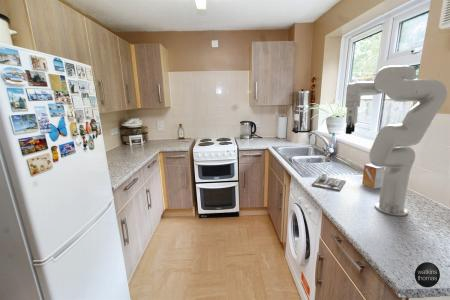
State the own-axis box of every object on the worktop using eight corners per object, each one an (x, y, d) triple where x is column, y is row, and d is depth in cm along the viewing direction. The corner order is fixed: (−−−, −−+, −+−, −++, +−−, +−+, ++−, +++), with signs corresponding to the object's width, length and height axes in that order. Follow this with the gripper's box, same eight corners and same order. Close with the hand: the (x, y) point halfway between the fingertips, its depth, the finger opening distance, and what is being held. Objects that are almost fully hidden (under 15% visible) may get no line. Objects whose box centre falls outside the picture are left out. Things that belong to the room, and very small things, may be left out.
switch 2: (335, 186, 130) (336, 179, 129) (329, 185, 132) (330, 178, 131) (336, 185, 132) (337, 177, 131) (331, 184, 134) (331, 176, 133)
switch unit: (339, 191, 126) (340, 187, 125) (311, 185, 135) (311, 182, 135) (345, 182, 139) (345, 178, 139) (319, 177, 149) (319, 174, 149)
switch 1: (325, 181, 138) (326, 174, 137) (320, 180, 140) (321, 173, 139) (327, 180, 141) (327, 172, 140) (321, 179, 143) (322, 172, 142)
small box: (361, 184, 135) (364, 164, 132) (369, 182, 137) (371, 163, 134) (374, 188, 128) (376, 167, 125) (382, 187, 129) (384, 166, 127)
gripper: (357, 104, 120) (354, 135, 123) (361, 104, 133) (359, 131, 137) (342, 105, 124) (340, 134, 128) (348, 104, 138) (345, 130, 141)
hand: (349, 132), depth 132 cm, fingers open, 9 cm apart
